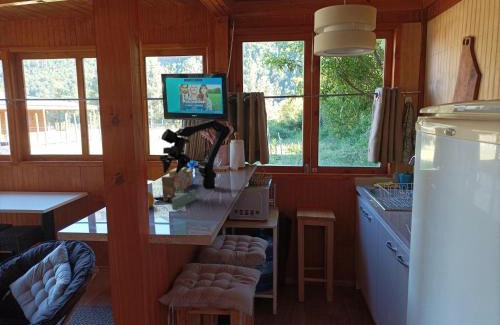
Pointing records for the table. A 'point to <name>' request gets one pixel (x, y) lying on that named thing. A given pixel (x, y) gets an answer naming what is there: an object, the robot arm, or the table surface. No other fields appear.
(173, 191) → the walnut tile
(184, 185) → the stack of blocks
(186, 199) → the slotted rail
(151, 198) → the fruit
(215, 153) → the robot arm
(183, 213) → the table surface
